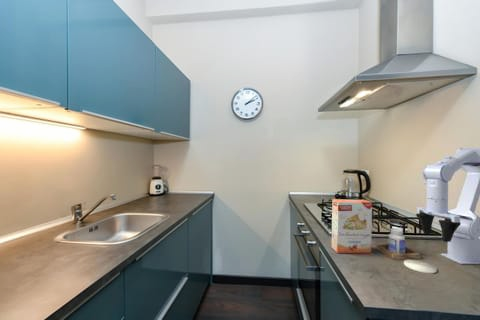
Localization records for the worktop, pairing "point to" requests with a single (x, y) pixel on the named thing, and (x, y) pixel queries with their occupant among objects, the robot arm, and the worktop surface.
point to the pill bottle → (396, 241)
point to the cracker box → (351, 226)
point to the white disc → (420, 266)
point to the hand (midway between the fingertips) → (436, 237)
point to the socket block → (411, 254)
